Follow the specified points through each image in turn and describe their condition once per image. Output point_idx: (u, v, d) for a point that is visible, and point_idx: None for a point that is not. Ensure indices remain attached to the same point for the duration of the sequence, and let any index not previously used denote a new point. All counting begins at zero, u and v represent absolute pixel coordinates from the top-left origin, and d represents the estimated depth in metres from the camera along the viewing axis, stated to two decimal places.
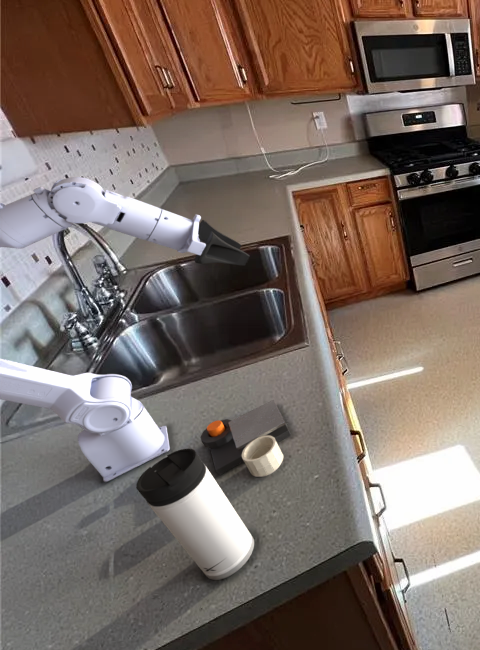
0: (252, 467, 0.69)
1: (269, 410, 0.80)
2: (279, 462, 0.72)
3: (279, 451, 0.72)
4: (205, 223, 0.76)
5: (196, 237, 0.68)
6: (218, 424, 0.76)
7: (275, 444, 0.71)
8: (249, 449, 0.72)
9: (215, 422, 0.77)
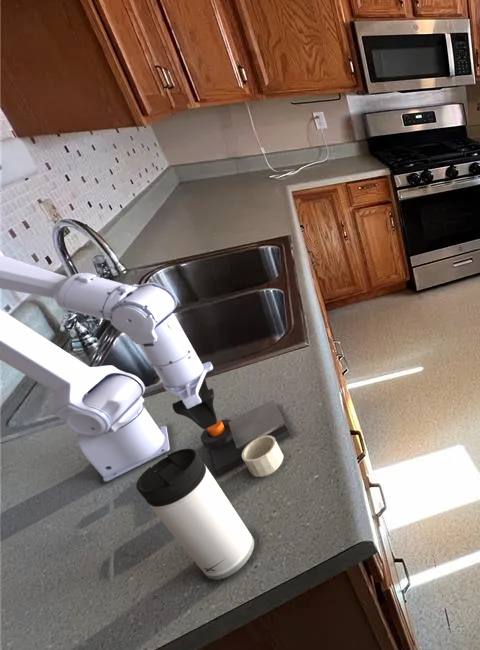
0: (252, 467, 0.69)
1: (269, 410, 0.80)
2: (279, 462, 0.72)
3: (279, 451, 0.72)
4: None
5: (198, 389, 0.68)
6: (218, 424, 0.76)
7: (275, 444, 0.71)
8: (249, 449, 0.72)
9: None
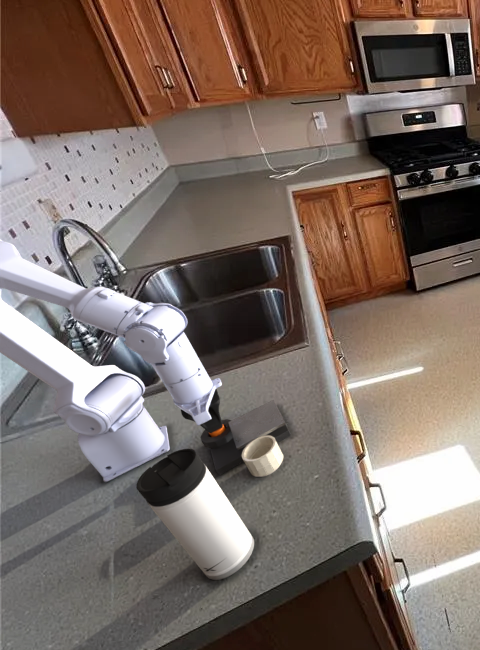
0: (252, 467, 0.69)
1: (269, 410, 0.80)
2: (279, 462, 0.72)
3: (279, 451, 0.72)
4: (216, 393, 0.75)
5: (208, 406, 0.70)
6: None
7: (275, 444, 0.71)
8: (249, 449, 0.72)
9: None
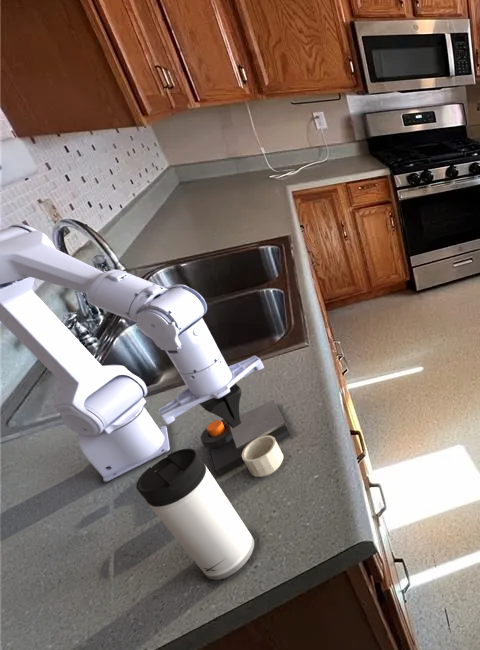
0: (252, 467, 0.69)
1: (269, 410, 0.80)
2: (279, 462, 0.72)
3: (279, 451, 0.72)
4: (226, 399, 0.66)
5: (178, 411, 0.62)
6: (218, 424, 0.76)
7: (275, 444, 0.71)
8: (249, 449, 0.72)
9: (215, 422, 0.77)
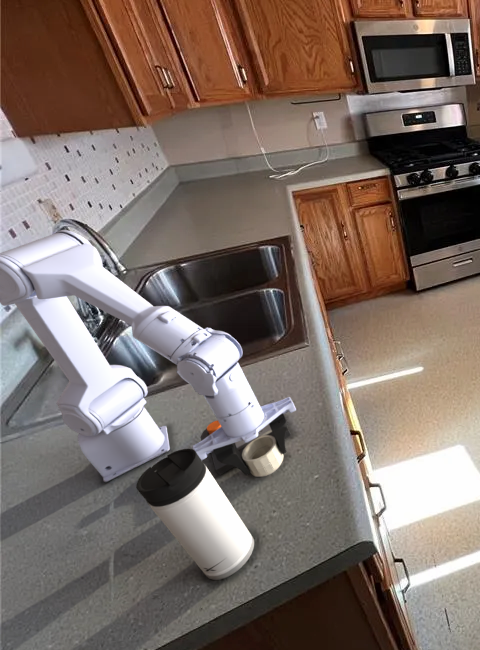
0: (252, 467, 0.69)
1: None
2: (279, 462, 0.72)
3: (279, 451, 0.72)
4: None
5: (210, 449, 0.64)
6: (218, 424, 0.76)
7: (275, 444, 0.71)
8: (249, 449, 0.72)
9: (215, 422, 0.77)
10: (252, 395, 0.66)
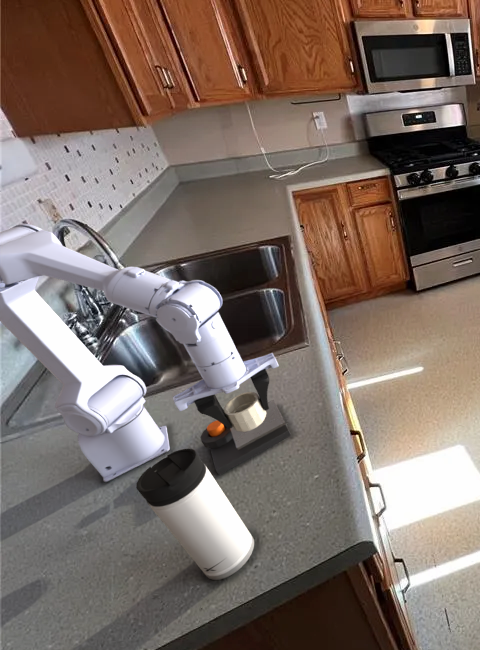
0: (234, 421, 0.69)
1: (269, 410, 0.80)
2: (262, 418, 0.72)
3: (262, 407, 0.72)
4: (254, 386, 0.69)
5: (190, 400, 0.64)
6: (218, 424, 0.76)
7: (258, 400, 0.71)
8: (232, 404, 0.72)
9: (215, 422, 0.77)
10: (234, 346, 0.67)
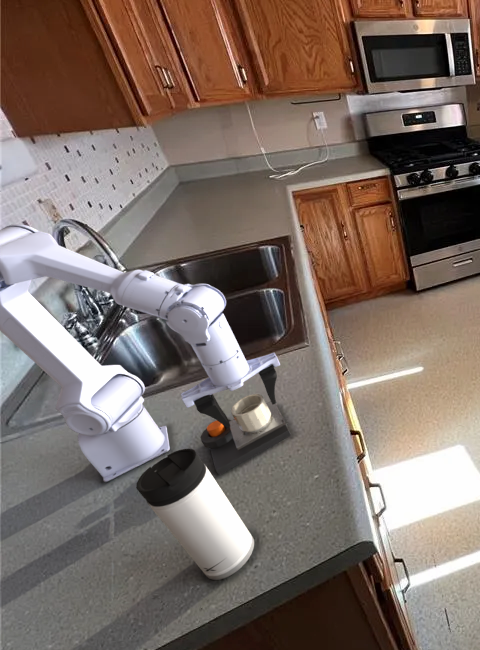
0: (241, 422, 0.74)
1: None
2: (267, 418, 0.76)
3: (267, 408, 0.77)
4: None
5: (197, 397, 0.68)
6: (218, 424, 0.76)
7: (263, 401, 0.76)
8: (238, 406, 0.76)
9: (215, 422, 0.77)
10: None
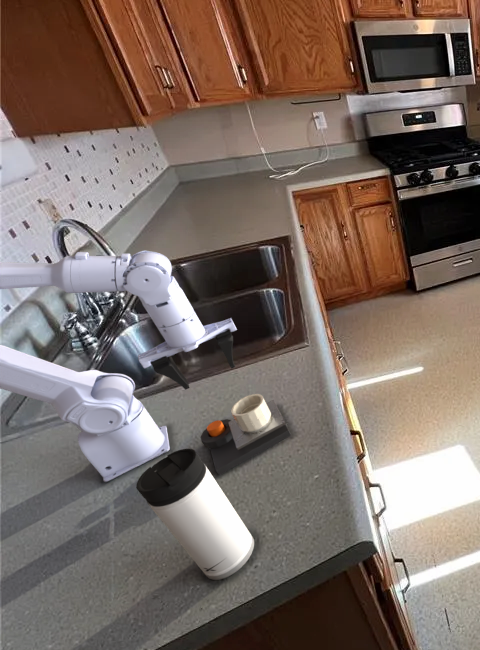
0: (241, 422, 0.74)
1: None
2: (267, 418, 0.76)
3: (267, 408, 0.77)
4: None
5: (153, 358, 0.72)
6: (218, 424, 0.76)
7: (263, 401, 0.76)
8: (238, 406, 0.76)
9: (215, 422, 0.77)
10: None
